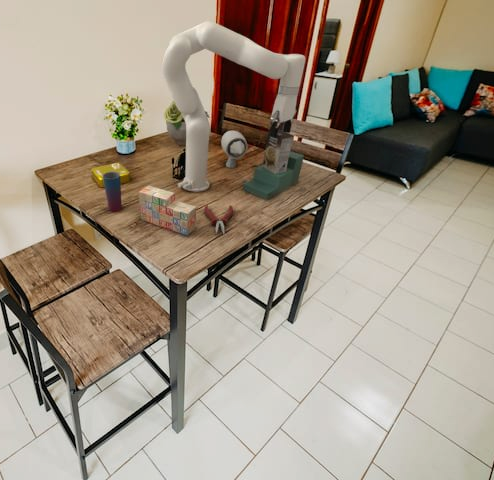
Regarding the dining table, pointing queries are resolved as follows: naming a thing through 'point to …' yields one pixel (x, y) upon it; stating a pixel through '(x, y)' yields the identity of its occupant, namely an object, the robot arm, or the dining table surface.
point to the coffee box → (277, 152)
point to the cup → (113, 190)
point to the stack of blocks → (166, 210)
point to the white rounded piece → (234, 146)
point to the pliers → (216, 221)
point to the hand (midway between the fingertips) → (279, 134)
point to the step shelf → (274, 178)
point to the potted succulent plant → (176, 124)
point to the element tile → (116, 167)
